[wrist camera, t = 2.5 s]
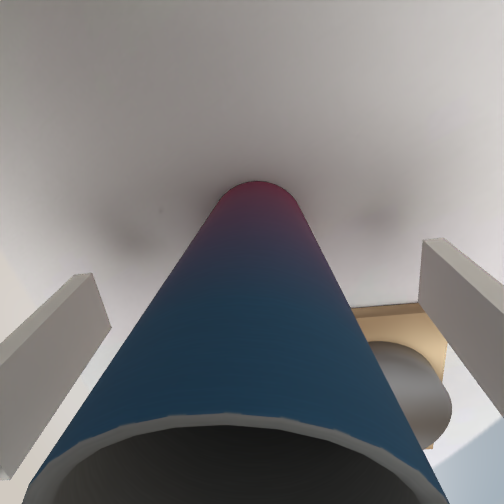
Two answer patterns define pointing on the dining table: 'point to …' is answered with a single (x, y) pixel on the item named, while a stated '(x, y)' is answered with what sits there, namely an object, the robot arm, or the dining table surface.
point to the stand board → (404, 330)
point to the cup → (242, 384)
